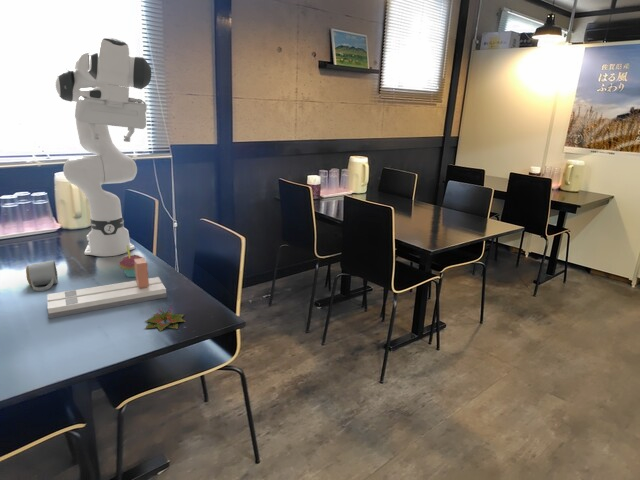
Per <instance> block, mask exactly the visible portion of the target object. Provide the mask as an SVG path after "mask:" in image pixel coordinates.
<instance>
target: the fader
mask: <svg viewBox="0 0 640 480" xmlns="http://www.w3.org/2000/svg"><path fill="white" fill-rule="evenodd" d="M134 264H135V275H136V277H135V281H136V283H137V285H138V287H139V288H141V287H148V286H149V280H148V278H149V272H148V271H149V269H148V262H147V260H146V258H145V257H142V258H138V259H134Z"/></svg>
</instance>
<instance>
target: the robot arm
mask: <svg viewBox="0 0 640 480" xmlns="http://www.w3.org/2000/svg"><path fill="white" fill-rule="evenodd" d="M98 46H99V47H98V49H95V50H94V49H85V50H83V51H80V52H79V53H78V54H77V55H76V56H75V59H74V69H70V67H68V68H66V70H65V71H62V72H60V73H58V75H57V78H56V80H55V88H56V89H55V90H56V91H57V93H58V96H59V97H60V99H61V100H63V101H66V102H76V105H75V112H74V118H75V123H76V131H77V135H78V139H79V145H81V147H82V149H84V150H85V151H86V152H88V153H91V154H93V155H79V156H74V157H70V158H68V159H66V161H65V162H64V164H63V169H62V171H63V175H64V177H65V179H66V180H67V181H68V182H69V183H70V184H72V185H73V186H75V187H77V188H78V189H80V190H81V192H82V193H83V195H84V196H85V197H86V199H87V201H88V206H89V210H90V217H91V218H90V221H89V222H90V228H91V230H90V231H89V232H88V234H86V241H88V242H87V245H86V248H85V250H84V255H85V256H87V255H88V256H89V255H90V256H96V257H112V256H113V257H114V256H119V255H122V254H126V253H128V252H127V246H128V247H129V251H132V250H135V249H136V247H135V245H134V244H133V243H132V242H131V241H130V240H131V239H130V234H129V230H128V229H127V228H126V227H125V223H124V222H125V220H124V217H123V216H122V215H123V214H122V205H121V203H122V202H121V199H120V197H118V196H117V194H114V193H113V192H110V191H107V190H104V189H103V187H102V186H103V185H107V184H108V185H109V184H122V183H127V182H131V181H133V180H135V178H136V176H137V173H138V167H137V164H136V161H135V160H134V159H133V158H132V157H131V156H129V155H127V154H125V153H124V152H122V151H121V150H120V149H119V148H117V147H116V145H115V144H114V143H113V140H112V138H111V135H110V131H109V126H110V127H111V126H112V127H120V128H127V131H128V132H127V134H126V135H123V142H126V143H130V142H131V137H132V136H133V134H134V133H135V129H140V130H144V129H145V128H147V127H146V126H147V116H146V113H147V107H148V106H147V104H146V102H145V101H143V99H140V98H135V97H129V94H130V87H131V88H133V89H138V90H143V89H144V88H146V87H147V86H148V85H150V82H151V81H152V68H151V65H150V64H149V62H148V61H147V60H146V59H145V58H144V57H143V56H142V57H140V56H133V55H130V49H129V44H127V43H126V41H125V42H124V41H123V40H119V39H117V38H112V37H102V38H100V41H99V45H98Z"/></svg>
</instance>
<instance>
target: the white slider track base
mask: <svg viewBox="0 0 640 480" xmlns="http://www.w3.org/2000/svg"><path fill="white" fill-rule="evenodd" d="M148 280H149V286H148V287H141V288H139V287H138V285H137V283H136V280H129V281H123V282H119V283H118V282H117V283H111V284H106V285H97V286H91V287H86V288H84V287H83V288H80V289H79V288H78V289H73V290H67V291H60V292H54V293H53V292H52V293H48V294H47V293H46V294H47V295H46V296H47V298H46V299H47V314H48V318H49V319H55V318H60V317H64V316H65V317H66V316H70V315H75V314H81V313H88V312H94V311H99V310H104V309H109V308H114V307H120V306H125V305H130V304H137V303H142V302H148V301H153V300H158V299H164V298H167V288H166V287H165V285H164V284H163V282H162V280H161V278H160V277H159V276H156V277H148Z"/></svg>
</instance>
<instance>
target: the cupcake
mask: <svg viewBox="0 0 640 480" xmlns="http://www.w3.org/2000/svg"><path fill="white" fill-rule="evenodd" d="M126 253H127V256H124V257H123V258H122V259H120V261H119V268H120V269H122V270H123V272H124V273H125V275H126V277H127V278H136V275H135V264H134V259H138V258H143V257H142V256H140V255H137V254H131V252H130V250H129V247H128V246H127V252H126Z"/></svg>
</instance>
